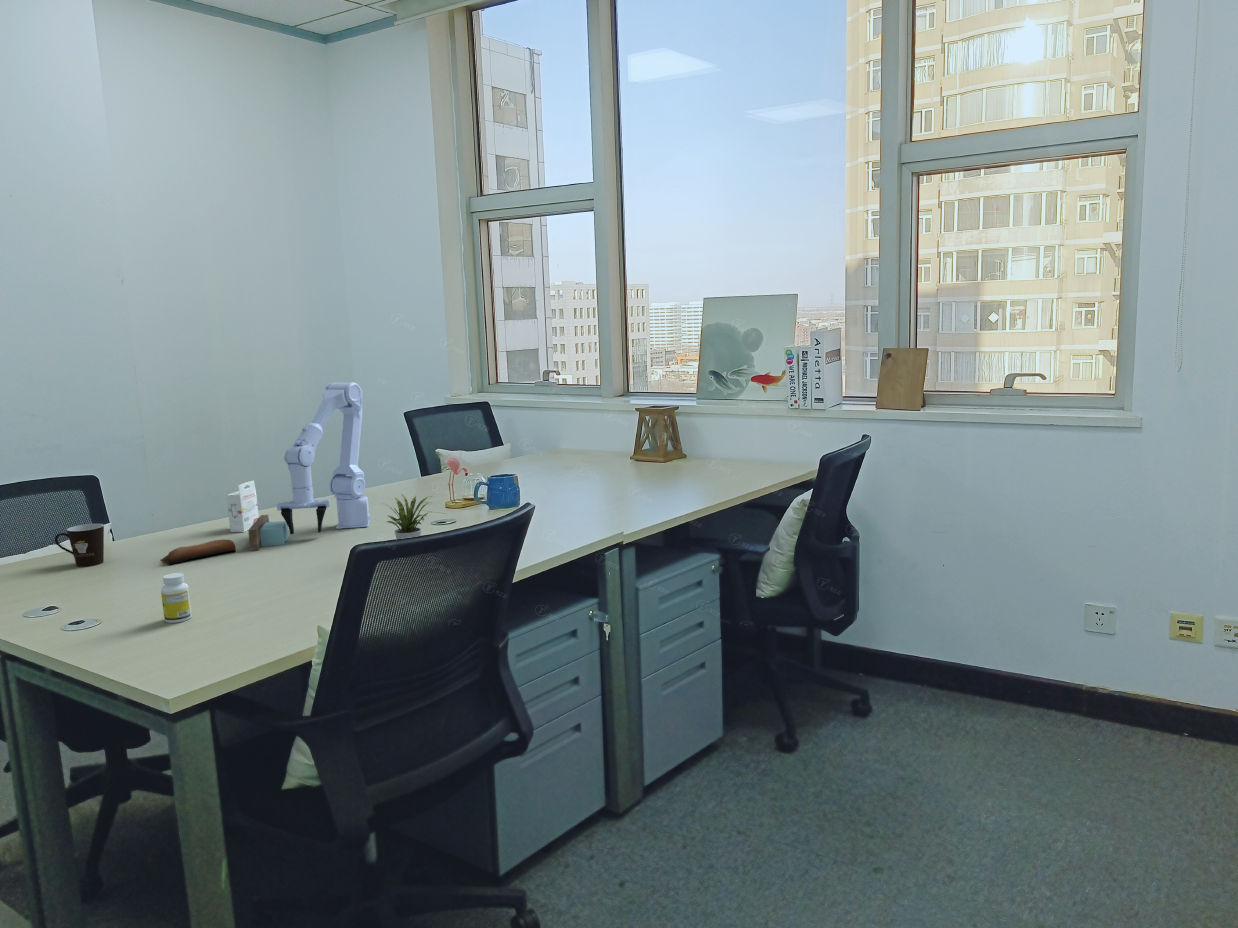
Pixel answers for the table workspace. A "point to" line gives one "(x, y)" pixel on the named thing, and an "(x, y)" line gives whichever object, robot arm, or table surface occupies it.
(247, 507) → the ink cartridge box
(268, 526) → the teal block
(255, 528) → the walnut board
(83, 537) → the coffee mug
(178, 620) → the supplement bottle
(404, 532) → the house plant
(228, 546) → the sweet potato
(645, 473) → the table surface
